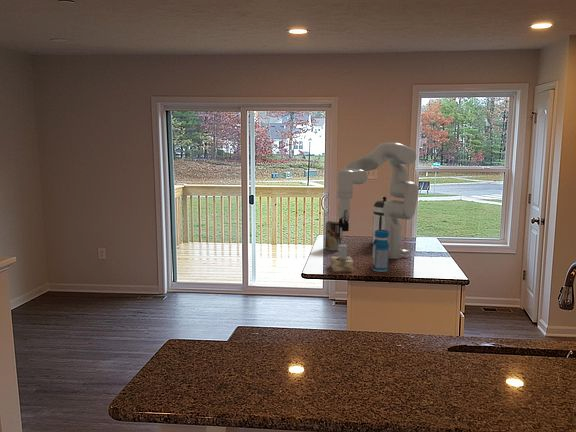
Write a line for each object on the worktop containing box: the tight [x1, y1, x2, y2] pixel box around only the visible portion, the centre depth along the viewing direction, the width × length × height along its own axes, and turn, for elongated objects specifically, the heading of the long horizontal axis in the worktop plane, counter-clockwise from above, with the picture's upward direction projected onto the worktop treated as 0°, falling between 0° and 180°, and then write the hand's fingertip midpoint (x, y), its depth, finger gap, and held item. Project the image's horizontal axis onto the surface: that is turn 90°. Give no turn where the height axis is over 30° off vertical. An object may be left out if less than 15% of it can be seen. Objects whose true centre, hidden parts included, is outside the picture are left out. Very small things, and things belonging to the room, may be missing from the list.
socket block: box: [330, 256, 355, 272], centre depth 255 cm, size 10×10×5 cm
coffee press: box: [370, 196, 388, 245], centre depth 310 cm, size 17×16×30 cm
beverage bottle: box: [371, 230, 390, 273], centre depth 253 cm, size 8×8×20 cm
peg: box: [337, 244, 348, 260], centre depth 254 cm, size 4×4×12 cm
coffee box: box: [324, 220, 344, 252], centre depth 296 cm, size 9×6×16 cm
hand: (343, 229), depth 252 cm, fingers open, 9 cm apart
